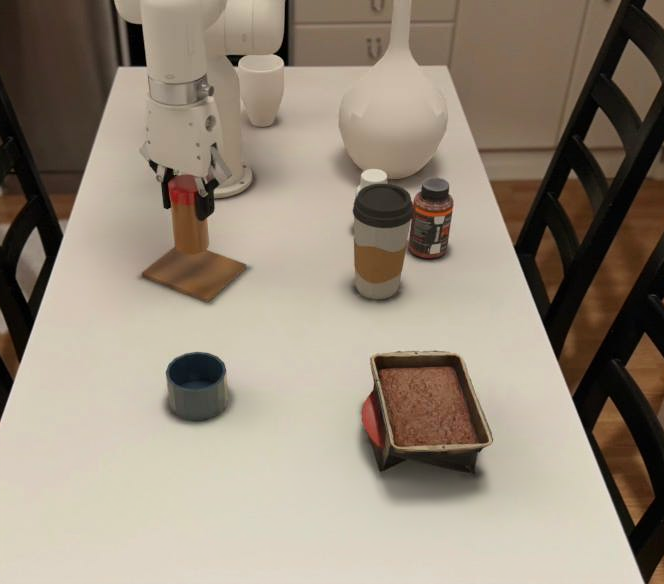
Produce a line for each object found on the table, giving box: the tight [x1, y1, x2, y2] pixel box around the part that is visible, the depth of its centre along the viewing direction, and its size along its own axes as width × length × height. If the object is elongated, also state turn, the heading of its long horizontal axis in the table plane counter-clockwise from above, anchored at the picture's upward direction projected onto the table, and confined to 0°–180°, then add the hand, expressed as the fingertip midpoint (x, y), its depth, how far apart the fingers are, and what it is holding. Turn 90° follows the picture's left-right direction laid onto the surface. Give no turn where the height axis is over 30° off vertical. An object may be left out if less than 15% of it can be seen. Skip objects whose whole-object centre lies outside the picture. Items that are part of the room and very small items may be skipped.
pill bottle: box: [354, 169, 388, 200], centre depth 142 cm, size 5×5×10 cm
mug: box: [237, 53, 285, 128], centre depth 170 cm, size 12×8×11 cm
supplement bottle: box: [408, 177, 455, 259], centre depth 137 cm, size 6×6×11 cm
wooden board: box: [141, 246, 247, 303], centre depth 137 cm, size 12×10×1 cm
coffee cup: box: [352, 183, 413, 300], centre depth 129 cm, size 8×8×15 cm
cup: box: [165, 351, 229, 422], centre depth 115 cm, size 7×7×5 cm
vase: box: [338, 0, 449, 180], centre depth 150 cm, size 18×18×30 cm
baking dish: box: [361, 350, 494, 475], centre depth 109 cm, size 14×18×10 cm
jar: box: [168, 174, 210, 255], centre depth 130 cm, size 5×5×10 cm
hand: (188, 209), depth 129 cm, fingers closed on jar, 5 cm apart
